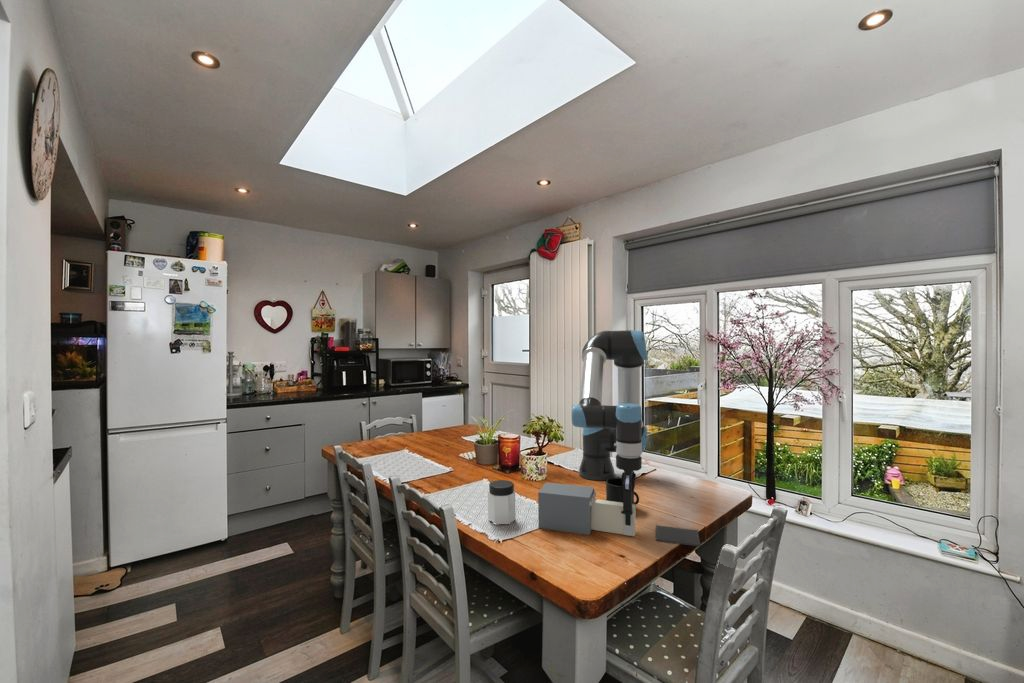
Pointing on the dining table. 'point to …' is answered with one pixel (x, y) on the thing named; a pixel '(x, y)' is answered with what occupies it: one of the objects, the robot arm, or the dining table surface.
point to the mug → (616, 490)
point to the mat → (677, 535)
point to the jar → (501, 502)
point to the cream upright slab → (609, 516)
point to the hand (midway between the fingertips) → (628, 532)
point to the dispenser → (565, 507)
